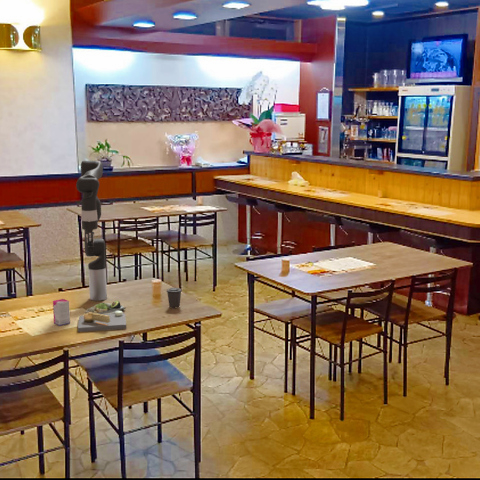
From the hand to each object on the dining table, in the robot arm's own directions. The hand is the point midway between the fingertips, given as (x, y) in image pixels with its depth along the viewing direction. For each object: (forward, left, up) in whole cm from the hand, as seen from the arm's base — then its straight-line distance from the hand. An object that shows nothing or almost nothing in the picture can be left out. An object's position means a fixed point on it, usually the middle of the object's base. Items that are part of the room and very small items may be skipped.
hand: (91, 254), depth 300 cm
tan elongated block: (+15, +2, -30) cm, 33 cm away
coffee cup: (-8, +41, -32) cm, 53 cm away
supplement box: (+7, -15, -32) cm, 36 cm away
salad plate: (-9, +6, -33) cm, 34 cm away
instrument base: (+12, +4, -32) cm, 34 cm away
